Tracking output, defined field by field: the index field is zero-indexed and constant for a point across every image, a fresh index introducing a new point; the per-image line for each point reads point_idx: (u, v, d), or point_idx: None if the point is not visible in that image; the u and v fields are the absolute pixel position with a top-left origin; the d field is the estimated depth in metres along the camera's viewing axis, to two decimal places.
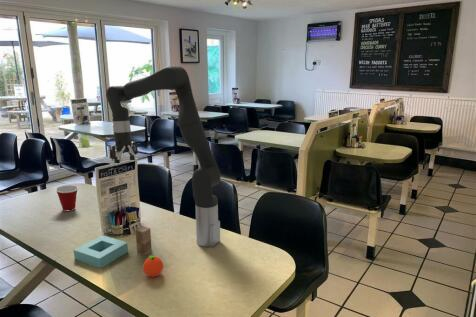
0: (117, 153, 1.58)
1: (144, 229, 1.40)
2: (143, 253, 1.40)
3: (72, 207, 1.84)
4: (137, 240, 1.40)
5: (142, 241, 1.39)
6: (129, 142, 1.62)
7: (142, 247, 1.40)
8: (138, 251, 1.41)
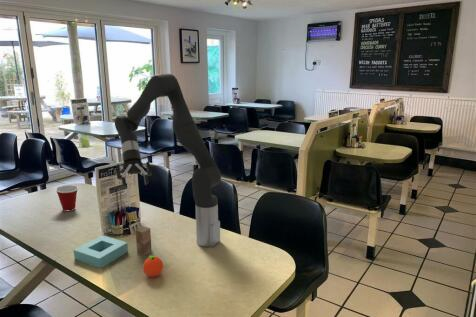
0: None
1: (144, 229, 1.40)
2: (143, 253, 1.40)
3: (72, 207, 1.84)
4: (136, 240, 1.40)
5: (142, 241, 1.39)
6: (139, 162, 1.54)
7: (142, 247, 1.40)
8: (138, 251, 1.41)
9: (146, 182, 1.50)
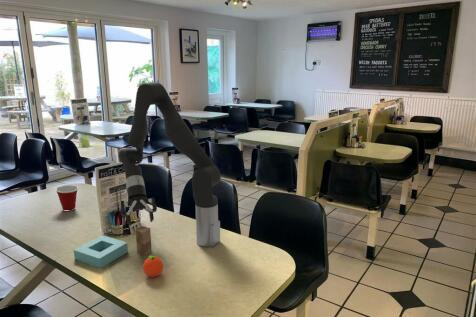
0: (129, 209, 1.46)
1: (144, 229, 1.40)
2: (143, 253, 1.40)
3: (72, 207, 1.84)
4: (137, 240, 1.40)
5: (142, 241, 1.39)
6: (144, 198, 1.50)
7: (142, 247, 1.40)
8: (138, 251, 1.41)
9: (151, 219, 1.46)
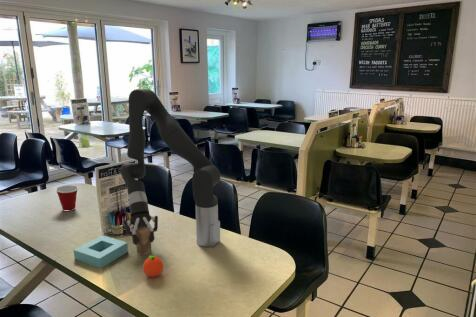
0: None
1: (144, 229, 1.40)
2: (143, 253, 1.40)
3: (72, 207, 1.84)
4: None
5: (142, 241, 1.39)
6: (147, 214, 1.45)
7: (142, 247, 1.39)
8: (138, 251, 1.41)
9: (152, 240, 1.40)
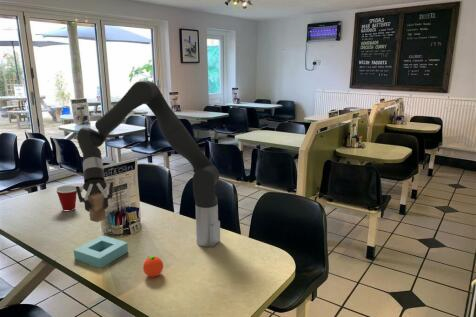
0: None
1: (97, 195, 1.34)
2: (96, 220, 1.34)
3: (72, 207, 1.84)
4: (89, 207, 1.34)
5: (94, 207, 1.32)
6: (102, 181, 1.39)
7: (95, 214, 1.33)
8: (91, 218, 1.35)
9: (105, 206, 1.34)
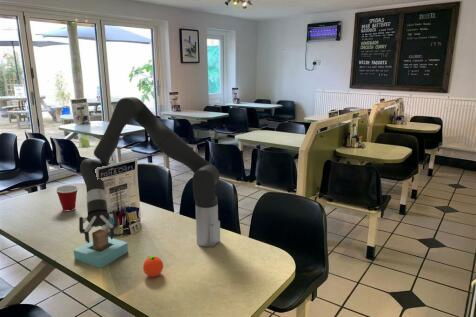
0: (88, 226, 1.38)
1: (101, 232, 1.37)
2: None
3: (72, 207, 1.84)
4: (93, 243, 1.38)
5: (98, 244, 1.36)
6: (105, 213, 1.42)
7: (99, 250, 1.37)
8: None
9: (111, 236, 1.38)
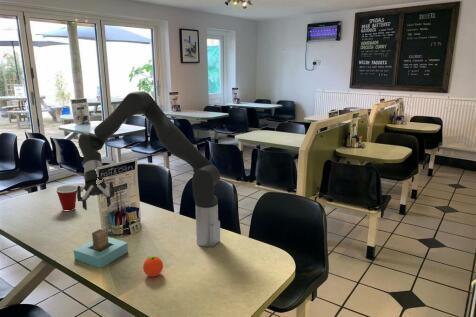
0: None
1: (101, 232, 1.37)
2: None
3: (72, 207, 1.84)
4: (93, 243, 1.38)
5: (98, 244, 1.36)
6: (101, 183, 1.48)
7: (99, 250, 1.37)
8: None
9: (108, 204, 1.44)
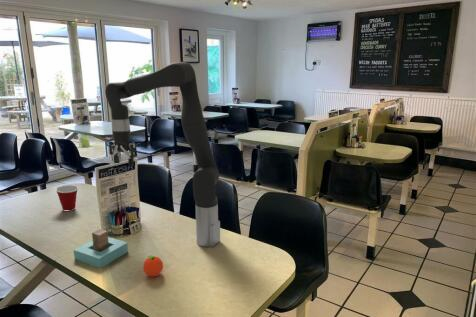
0: None
1: (101, 232, 1.37)
2: None
3: (72, 207, 1.84)
4: (93, 243, 1.38)
5: (98, 244, 1.36)
6: (124, 143, 1.52)
7: (99, 250, 1.37)
8: None
9: (129, 166, 1.54)
